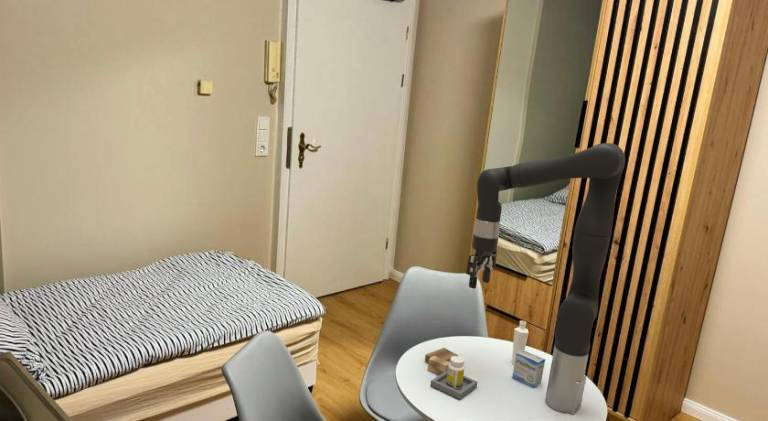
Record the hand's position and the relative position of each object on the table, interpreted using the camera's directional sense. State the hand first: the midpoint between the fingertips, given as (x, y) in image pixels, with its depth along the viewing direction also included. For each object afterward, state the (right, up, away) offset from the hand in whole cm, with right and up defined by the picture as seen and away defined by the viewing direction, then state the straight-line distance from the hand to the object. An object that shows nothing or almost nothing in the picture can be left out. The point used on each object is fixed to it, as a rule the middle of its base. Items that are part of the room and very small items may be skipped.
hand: (479, 284), depth 168 cm
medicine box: (+15, -30, +1) cm, 34 cm away
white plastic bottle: (+14, -28, +12) cm, 33 cm away
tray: (-9, -29, -7) cm, 31 cm away
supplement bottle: (-9, -29, -7) cm, 31 cm away
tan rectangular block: (-12, -27, +1) cm, 30 cm away
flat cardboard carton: (-11, -26, +8) cm, 30 cm away
